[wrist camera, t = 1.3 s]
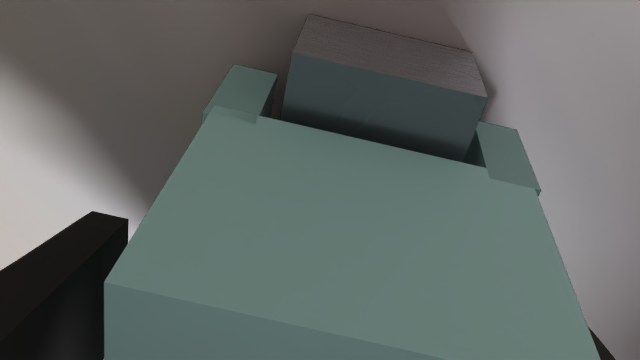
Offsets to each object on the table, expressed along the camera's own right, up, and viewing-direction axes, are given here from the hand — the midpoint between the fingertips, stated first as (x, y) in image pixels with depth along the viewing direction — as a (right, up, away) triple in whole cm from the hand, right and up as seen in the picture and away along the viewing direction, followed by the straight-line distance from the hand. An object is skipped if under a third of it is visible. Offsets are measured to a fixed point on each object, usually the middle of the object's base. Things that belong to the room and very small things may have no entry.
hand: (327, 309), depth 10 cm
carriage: (0, +2, +3) cm, 3 cm away
